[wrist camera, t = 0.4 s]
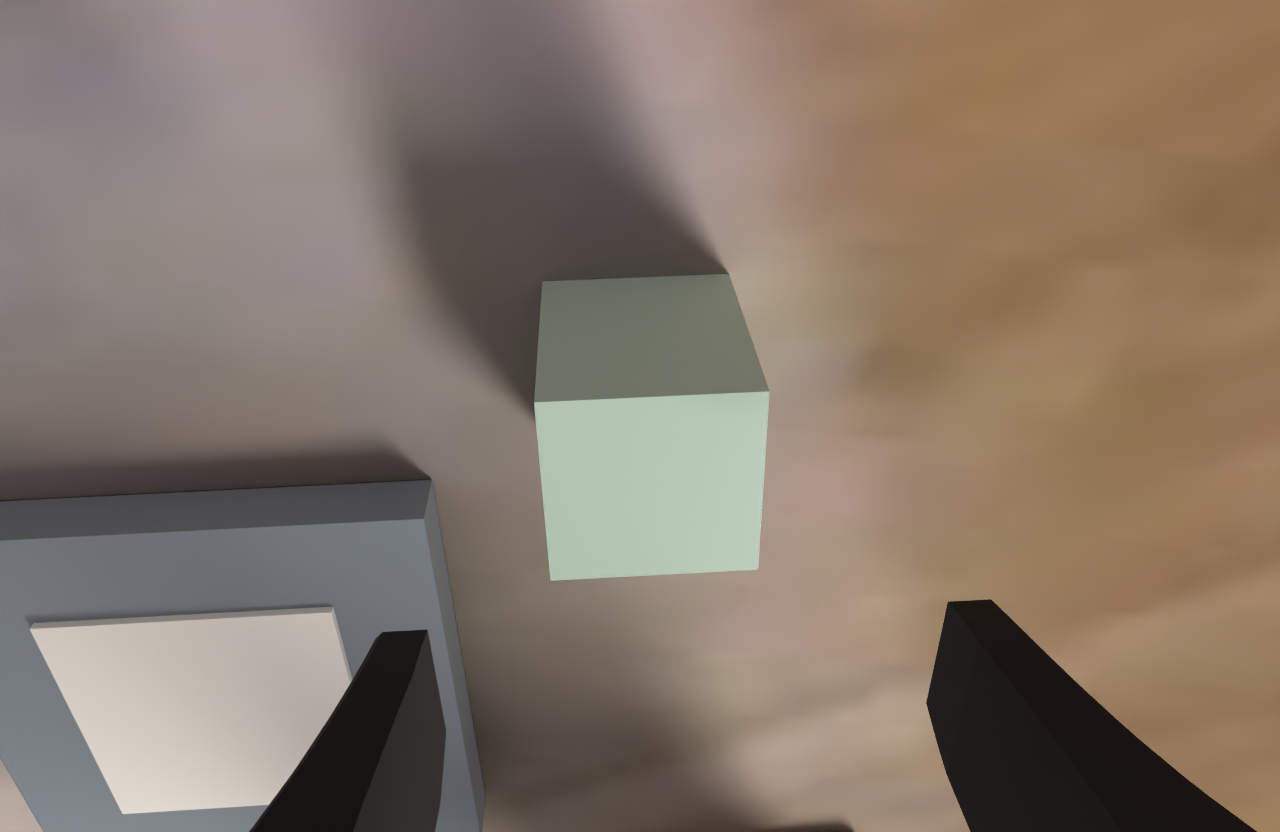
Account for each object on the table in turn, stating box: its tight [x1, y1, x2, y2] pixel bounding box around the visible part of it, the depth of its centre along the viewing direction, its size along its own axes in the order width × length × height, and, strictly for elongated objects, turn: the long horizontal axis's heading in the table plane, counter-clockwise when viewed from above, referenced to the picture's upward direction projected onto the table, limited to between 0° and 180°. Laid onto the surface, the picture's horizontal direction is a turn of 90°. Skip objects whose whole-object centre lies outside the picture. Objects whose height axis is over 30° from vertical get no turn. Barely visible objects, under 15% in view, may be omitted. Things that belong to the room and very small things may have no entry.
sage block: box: [534, 274, 769, 581], centre depth 19 cm, size 4×4×5 cm
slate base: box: [0, 480, 485, 832], centre depth 25 cm, size 12×12×2 cm
